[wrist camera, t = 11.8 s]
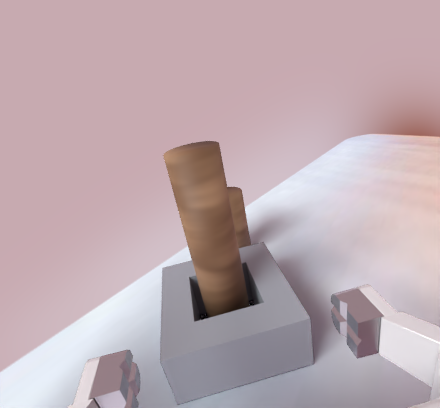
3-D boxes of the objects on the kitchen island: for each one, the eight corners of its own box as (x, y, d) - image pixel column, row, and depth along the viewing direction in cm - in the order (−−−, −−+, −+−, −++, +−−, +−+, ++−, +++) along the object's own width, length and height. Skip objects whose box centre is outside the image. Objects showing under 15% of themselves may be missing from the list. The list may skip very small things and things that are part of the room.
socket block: (268, 278, 30) (263, 241, 28) (313, 364, 20) (310, 318, 19) (174, 303, 29) (162, 268, 27) (177, 404, 20) (160, 361, 18)
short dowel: (247, 241, 37) (237, 184, 33) (255, 256, 33) (245, 195, 30) (220, 248, 36) (208, 191, 33) (225, 264, 33) (212, 203, 30)
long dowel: (247, 308, 26) (214, 138, 20) (258, 340, 23) (223, 148, 17) (209, 319, 26) (163, 149, 20) (215, 352, 23) (163, 162, 16)
